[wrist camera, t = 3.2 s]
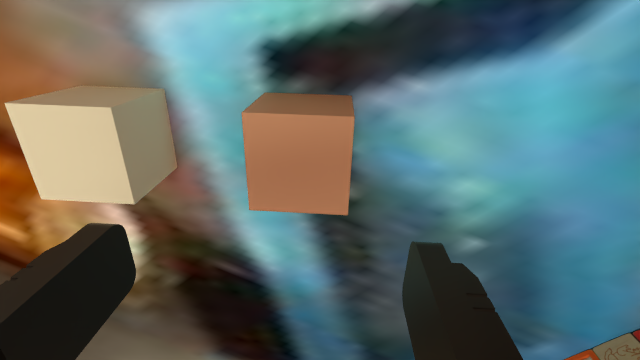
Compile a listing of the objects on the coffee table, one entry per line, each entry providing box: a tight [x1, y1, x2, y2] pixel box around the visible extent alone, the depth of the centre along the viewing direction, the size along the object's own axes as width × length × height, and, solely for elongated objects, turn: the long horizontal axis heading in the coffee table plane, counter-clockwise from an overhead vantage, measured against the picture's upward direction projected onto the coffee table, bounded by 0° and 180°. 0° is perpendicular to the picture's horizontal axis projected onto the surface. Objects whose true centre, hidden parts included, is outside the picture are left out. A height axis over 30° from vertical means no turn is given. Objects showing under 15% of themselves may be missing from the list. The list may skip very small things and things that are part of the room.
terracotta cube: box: [242, 93, 355, 215], centre depth 18 cm, size 5×5×5 cm
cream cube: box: [5, 86, 177, 204], centre depth 18 cm, size 5×5×5 cm
